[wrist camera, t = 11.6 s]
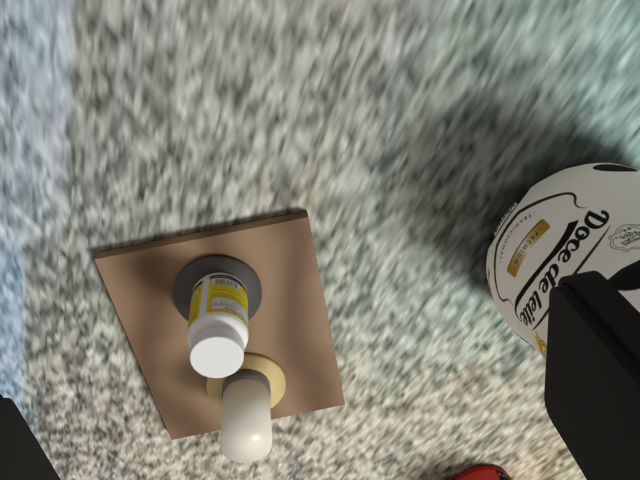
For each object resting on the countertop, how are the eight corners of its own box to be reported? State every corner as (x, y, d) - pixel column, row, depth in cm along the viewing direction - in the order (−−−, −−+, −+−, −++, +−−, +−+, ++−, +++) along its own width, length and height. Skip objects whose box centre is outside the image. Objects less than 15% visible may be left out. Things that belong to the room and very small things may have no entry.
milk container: (466, 175, 49) (569, 297, 34) (665, 128, 49) (860, 228, 34) (479, 330, 58) (566, 484, 42) (648, 290, 58) (797, 429, 42)
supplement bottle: (208, 323, 51) (202, 391, 44) (182, 283, 49) (171, 348, 42) (257, 303, 51) (259, 368, 44) (233, 262, 49) (230, 324, 41)
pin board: (306, 210, 49) (308, 220, 47) (343, 395, 60) (345, 408, 59) (97, 252, 49) (92, 263, 47) (172, 430, 60) (170, 444, 58)
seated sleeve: (264, 364, 54) (267, 421, 48) (274, 399, 57) (278, 457, 51) (216, 374, 54) (213, 432, 48) (228, 408, 57) (226, 468, 51)
